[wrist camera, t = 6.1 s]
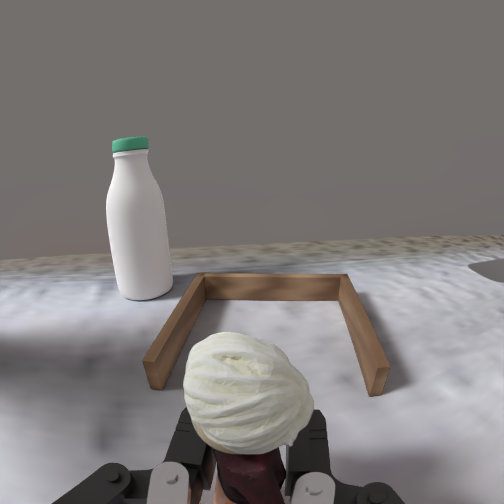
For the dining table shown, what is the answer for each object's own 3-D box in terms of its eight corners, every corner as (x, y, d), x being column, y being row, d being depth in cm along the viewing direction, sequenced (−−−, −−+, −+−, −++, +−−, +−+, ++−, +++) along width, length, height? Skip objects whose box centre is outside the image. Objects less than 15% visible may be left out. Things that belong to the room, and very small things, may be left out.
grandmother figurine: (192, 480, 13) (136, 294, 9) (252, 462, 15) (244, 274, 10) (247, 583, 6) (213, 532, 2) (317, 555, 8) (422, 421, 4)
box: (150, 388, 21) (142, 360, 20) (200, 294, 37) (197, 272, 36) (381, 395, 19) (390, 366, 18) (344, 296, 35) (347, 273, 34)
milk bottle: (184, 289, 38) (171, 132, 32) (131, 308, 33) (108, 137, 27) (159, 273, 44) (146, 139, 37) (112, 287, 39) (94, 144, 32)
